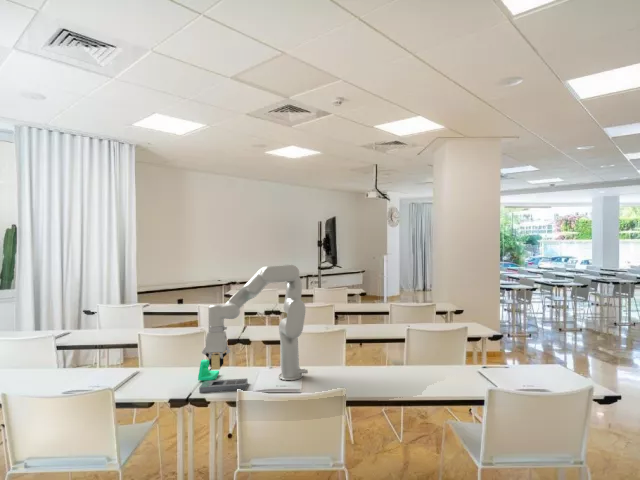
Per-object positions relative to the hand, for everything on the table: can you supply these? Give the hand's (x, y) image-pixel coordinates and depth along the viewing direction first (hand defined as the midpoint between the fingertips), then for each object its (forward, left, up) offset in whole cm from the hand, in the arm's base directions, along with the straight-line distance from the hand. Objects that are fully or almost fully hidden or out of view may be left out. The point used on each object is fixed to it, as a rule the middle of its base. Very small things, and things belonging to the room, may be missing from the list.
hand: (216, 365), depth 194 cm
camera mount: (+8, -17, -12) cm, 22 cm away
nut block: (0, 0, -1) cm, 1 cm away
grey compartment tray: (-4, 0, -11) cm, 12 cm away
